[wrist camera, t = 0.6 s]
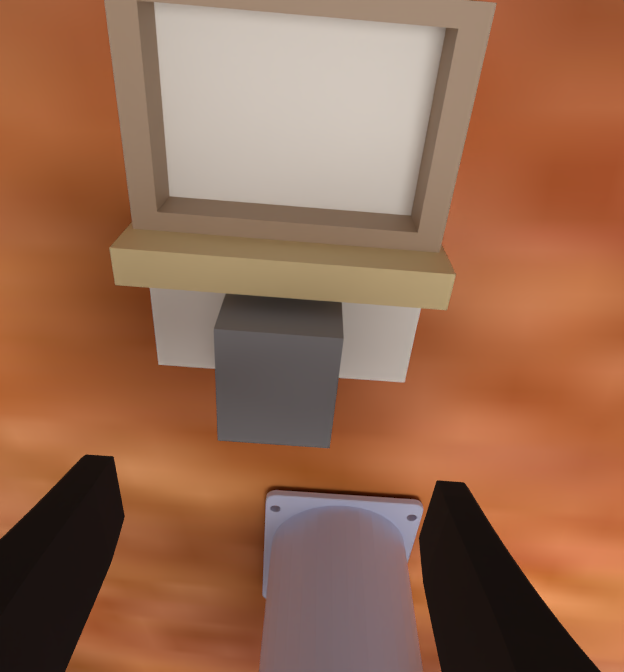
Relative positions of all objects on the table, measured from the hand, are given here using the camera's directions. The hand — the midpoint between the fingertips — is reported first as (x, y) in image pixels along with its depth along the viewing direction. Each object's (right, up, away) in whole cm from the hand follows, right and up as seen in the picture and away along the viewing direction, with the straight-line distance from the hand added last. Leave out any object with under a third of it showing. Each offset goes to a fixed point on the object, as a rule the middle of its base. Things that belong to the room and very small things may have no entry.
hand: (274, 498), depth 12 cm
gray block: (0, +4, +8) cm, 9 cm away
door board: (0, +8, +6) cm, 10 cm away
